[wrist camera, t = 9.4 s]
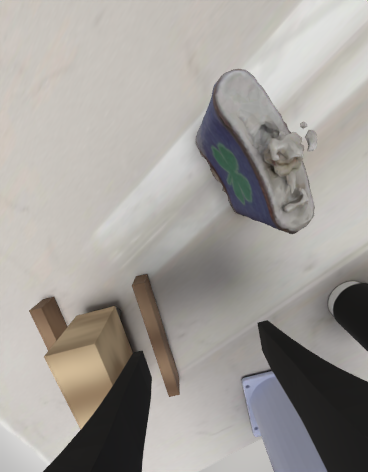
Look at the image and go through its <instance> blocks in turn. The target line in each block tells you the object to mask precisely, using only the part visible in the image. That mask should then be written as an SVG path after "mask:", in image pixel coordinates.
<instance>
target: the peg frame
mask: <svg viewBox="0 0 368 472" xmlns="http://www.w3.org/2000/svg"><path fill="white" fill-rule="evenodd" d="M132 287H133V290H134V293H135V296H136V299H137V302H138V305H139V308H140V311H141V314H142V317H143V320H144V323H145V326H146V329H147V332H148V335H149V338H150V341H151V344H152V347H153V350H154V353H155V356H156V359H157V362H158V365H159V368H160V371H161V374H162V377H163V380H164V383H165V386H166V389H167V392H168V395H169V397H171V396H175V395H180V392H179V376H178V372H177V369H176V366H175V363H174V359H173V356H172V353H171V350H170V346H169V343H168V340H167V337H166V334H165V330H164V327H163V324H162V321H161V317H160V314H159V311H158V308H157V304H156V301H155V298H154V295H153V291H152V288H151V285H150V282H149V278H148V275H147V274H145V275H140V276H136V278H135V280H134V282H133V284H132ZM116 310H117V313H118V315H119V317H120V315H121V311H120V309H118V308H116ZM29 312H30V314H31V316H32V318H33V320H34V322H35V324H36V326H37V328H38V330H39V332H40V334H41V337H42V339H43V341H44V343H45V345H46V347H47V349H48V351H49V350H50V348H51V347H52V346H53V345H54V343H55V342H56V341H57V340H58V338H59V337H60V336H61V335H62V333H63V332H64V331H65V330H66V328H67V326H66V323H65V321H64V319H63V317H62V314H61V312H60V310H59V307H58V305H57V303H56V301H55V298H54V297H51V298H47V299H43V300H42V301H40V302H39V303H38V304H37V305H36V306H34V307H33V308H32V309H31V310H29Z"/></svg>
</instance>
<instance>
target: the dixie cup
mask: <svg viewBox="0 0 368 472" xmlns="http://www.w3.org/2000/svg"><path fill="white" fill-rule="evenodd" d="M328 307H329V310H330V312H331V313H332V314H333V315H334V317H335V319H336V321H337V322H338V323H339V324H340V325H341V326H342V327H343V328H344V329H345V330H346V331H347V332H348V333H349V334H350V335H351V336H352V337H353V338H354V339H355V340H357V341H358V342H359V343H360V344H361V345H362V346H363V347H364V348H365V349H366V350H367V351H368V284H367V283H359V282H356V281H350V282H345V283H343V284H341V285H339V286H338V287H337V288H335V289H334V291H333V292H332V293H331V295H330V297H329V301H328Z"/></svg>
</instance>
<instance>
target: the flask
mask: <svg viewBox="0 0 368 472" xmlns="http://www.w3.org/2000/svg"><path fill="white" fill-rule="evenodd" d="M300 127H302V128H305V127H307V124H306V123H305V122H302V123H300ZM305 138H306V140H307V142H308V145H309V146H308V151H313V150H314V149H315V148H316V147H317V135H316V133H315V131H313V130H308V132H307V134H306V136H305ZM301 142H302V137H300V136H299V135H298V134H297V133H296V132H292V133H291V132H290V131H289V130H288V128H287V125H286V123H285V122H284V121H283V119H282V116H281V114H280V113H279V112H278V110H277V109H276V108H275V106H274V105H273V103H272V102H271V100H270V98H269V96H268V95H267V93H266V92H265V90H264V89H263V87H262V86H261V85H260V84H259V83H258V82H257V80H256V79H255V77H254V76H253V75H252V74H250V73H249V72H248V71H246V70H242V69H235V70H231V71H229V72H226V73H224V74H223V75H222V76H221V77H220V79H219V80H218V81H217V82H216V84H215V85H214V88H213V92H212V97H211V101H210V103H209V106H208V109H207V111H206V114H205V116H204V118H203V121H202V124H201V126H200V128H199V130H198V132H197V135H196V143H197V146H198V149H199V150H200V154H201V155H202V157H205V159H206V160H207V162H208V164H209V166H210V168H211V169H210V170H211V171H212V173H213V176H214V177H215V179H216V180H217V181H219V182H220V183H222V185H223V191H224V192H226V193H227V195H228V199H229V200H228V201H229V202H230V204H231V206H232V208H233V210H234V212H236V213H238V214H241V215H243V216H247V217H249V218H251V219H253V220H255V221H260V222H262V223H265V224H267V225H270V226H272V227H273V228H277V229H278V230H281V231H284V232H288V233H289V234H294V233H296V232H298V231H299V230H301V229H302V228H304V227H306V226H307V225H308V224H309V222H310V221H311V219H312V218H313V216H314V208H315V207H314V202H313V198H312V195H311V191H310V186H309V180H308V176H307V173H306V169H305V166H304V163H303V161H302V159H303V151H304V146H303V145H302V144H301Z"/></svg>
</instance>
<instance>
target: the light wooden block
mask: <svg viewBox="0 0 368 472" xmlns="http://www.w3.org/2000/svg"><path fill="white" fill-rule="evenodd" d="M132 354H133V352H132V350H131V347H130V344H129V342H128V339H127V337H126V334H125V331H124V329H123V326H122V323H121V321H120V318H119V315H118V313H117V310H116V307H115V306H113V307H109V308H105V309H101V310H97V311H93V312H90V313H86V314H82V315H78V316H76V317H75V318H74V320H73V321H72V322H71V323H70V325H69V326H68V327H67V328H66V330H65V331H64V332H63V333H62V335H61V336H60V337H59V338H58V340H57V341H56V342H55V343H54V345H53V346H52V347H51V348H50V350H49V351H48V352H47V354H46V355H45V356H44V358H45V360H46V362H47V364H48V366H49V368H50V370H51V372H52V374H53V376H54V378H55V380H56V382H57V384H58V386H59V388H60V390H61V392H62V394H63V396H64V398H65V399H66V401H67V403H68V405H69V407H70V409H71V411H72V413H73V415H74V417H75V419H76V421H77V423H78V425H79V427H80V429H82V428H83V426H84V425H85V424H86V423H87V421H88V420H89V419H90V417H91V416H92V415H93V414H94V412H95V411H96V409H97V408H98V407H99V405H100V404H101V402H102V401H103V399H104V398H105V397H106V395H107V394H108V392H109V391H110V389H111V388H112V386H113V384H114V383H115V381H116V380H117V378H118V376H119V375H120V373H121V372H122V370H123V368H124V367H125V365H126V363H127V362H128V360H129V358H130V357H131V355H132Z"/></svg>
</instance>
